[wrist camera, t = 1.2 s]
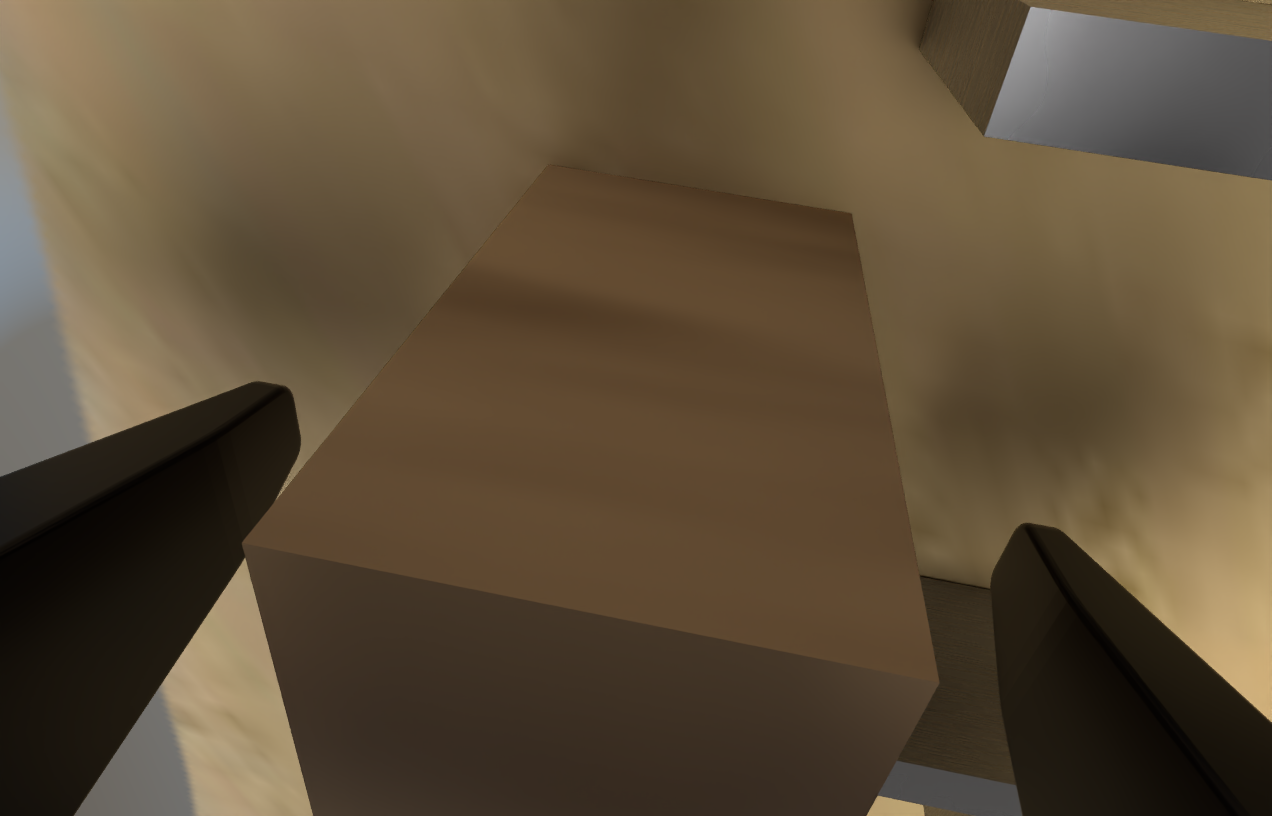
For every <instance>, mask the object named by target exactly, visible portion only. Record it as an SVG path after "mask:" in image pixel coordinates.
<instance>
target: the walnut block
mask: <svg viewBox="0 0 1272 816" xmlns="http://www.w3.org/2000/svg"><path fill="white" fill-rule="evenodd" d="M242 546H243V550H244V554H245V558H246V562H247V565H248V569H249V573H250V577H251V581H252V584H253V588H254V592H255V596H256V600H257V603H258V607H259V611H260V615H261V619H262V622H263V626H264V630H265V634H266V638H267V641H268V645H269V649H270V653H271V657H272V660H273V664H274V668H275V672H276V676H277V679H278V683H279V687H280V691H281V695H282V698H283V702H284V706H285V710H286V714H287V717H288V721H289V725H290V729H291V733H292V737H293V740H294V744H295V748H296V752H297V756H298V759H299V763H300V767H301V771H302V775H303V778H304V782H305V786H306V790H307V794H308V797H309V801H310V805H311V809H312V813H313V816H866V815H867V814H868V812H869V810H870V808H871V806H872V805H873V803H874V801H875V799H876V797H877V796H878V794H879V792H880V790H881V788H882V786H883V785H884V783H885V781H886V779H887V777H888V776H889V774H890V772H891V770H892V768H893V766H894V765H895V763H896V761H897V759H898V757H899V756H900V754H901V752H902V750H903V748H904V747H905V745H906V743H907V741H908V739H909V737H910V736H911V734H912V732H913V730H914V728H915V727H916V725H917V723H918V721H919V719H920V717H921V716H922V714H923V712H924V710H925V708H926V707H927V705H928V703H929V701H930V699H931V698H932V696H933V694H934V692H935V690H936V688H937V687H938V685H939V683H940V682H939V677H938V672H937V666H936V661H935V656H934V650H933V645H932V640H931V634H930V629H929V624H928V618H927V613H926V608H925V602H924V597H923V592H922V586H921V581H920V576H919V570H918V565H917V560H916V554H915V549H914V544H913V538H912V533H911V528H910V523H909V517H908V512H907V507H906V501H905V496H904V491H903V485H902V480H901V475H900V469H899V464H898V459H897V453H896V448H895V443H894V437H893V432H892V427H891V421H890V416H889V411H888V405H887V400H886V395H885V389H884V384H883V379H882V373H881V368H880V363H879V357H878V352H877V347H876V341H875V336H874V331H873V325H872V320H871V315H870V309H869V304H868V299H867V293H866V288H865V283H864V277H863V272H862V267H861V261H860V256H859V251H858V245H857V240H856V235H855V229H854V224H853V219H852V214H851V213H845V212H839V211H833V210H827V209H820V208H814V207H808V206H802V205H796V204H789V203H783V202H777V201H771V200H765V199H758V198H752V197H746V196H740V195H734V194H728V193H721V192H715V191H709V190H703V189H697V188H690V187H684V186H678V185H672V184H666V183H659V182H653V181H647V180H641V179H635V178H628V177H622V176H616V175H610V174H604V173H597V172H591V171H585V170H579V169H572V168H566V167H560V166H554V165H548V166H547V167H546V168H545V169H544V170H543V172H542V173H541V174H540V175H539V177H538V178H537V179H536V180H535V182H534V183H533V184H532V185H531V187H530V188H529V189H528V190H527V191H526V193H525V194H524V195H523V196H522V198H521V199H520V200H519V201H518V203H517V204H516V205H515V206H514V208H513V209H512V210H511V211H510V212H509V214H508V215H507V216H506V217H505V219H504V220H503V221H502V222H501V224H500V225H499V226H498V227H497V228H496V230H495V231H494V232H493V233H492V235H491V236H490V237H489V238H488V240H487V241H486V242H485V243H484V245H483V246H482V247H481V248H480V249H479V251H478V252H477V253H476V254H475V256H474V257H473V258H472V259H471V261H470V262H469V263H468V264H467V265H466V267H465V268H464V269H463V270H462V272H461V273H460V274H459V275H458V277H457V278H456V279H455V280H454V282H453V283H452V284H451V285H450V286H449V288H448V289H447V290H446V291H445V293H444V294H443V295H442V296H441V298H440V299H439V300H438V301H437V303H436V304H435V305H434V306H433V307H432V309H431V310H430V311H429V312H428V314H427V315H426V316H425V317H424V319H423V320H422V321H421V322H420V323H419V325H418V326H417V327H416V328H415V330H414V331H413V332H412V333H411V335H410V336H409V337H408V338H407V340H406V341H405V342H404V343H403V344H402V346H401V347H400V348H399V349H398V351H397V352H396V353H395V354H394V356H393V357H392V358H391V359H390V360H389V362H388V363H387V364H386V365H385V367H384V368H383V369H382V370H381V372H380V373H379V374H378V375H377V377H376V378H375V379H374V380H373V381H372V383H371V384H370V385H369V386H368V388H367V389H366V390H365V391H364V393H363V394H362V395H361V396H360V397H359V399H358V400H357V401H356V402H355V404H354V405H353V406H352V407H351V409H350V410H349V411H348V412H347V414H346V415H345V416H344V417H343V418H342V420H341V421H340V422H339V423H338V425H337V426H336V427H335V428H334V430H333V431H332V432H331V433H330V435H329V436H328V437H327V438H326V439H325V441H324V442H323V443H322V444H321V446H320V447H319V448H318V449H317V451H316V452H315V453H314V454H313V455H312V457H311V458H310V459H309V460H308V462H307V463H306V464H305V465H304V467H303V468H302V469H301V470H300V472H299V473H298V474H297V475H296V476H295V478H294V479H293V480H292V481H291V483H290V484H289V485H288V486H287V488H286V489H285V490H284V491H283V492H282V494H281V495H280V496H279V497H278V499H277V500H276V501H275V502H274V504H273V505H272V506H271V507H270V509H269V510H268V511H267V512H266V513H265V515H264V516H263V517H262V518H261V520H260V521H259V522H258V523H257V525H256V526H255V527H254V528H253V530H252V531H251V532H250V533H249V534H248V536H247V537H246V538H245V539H244V541H243V542H242Z"/></svg>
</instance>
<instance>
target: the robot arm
mask: <svg viewBox="0 0 1272 816" xmlns="http://www.w3.org/2000/svg"><path fill="white" fill-rule="evenodd" d="M300 446H301V435H300V430H299V424H298V419H297V413H296V408H295V402H294V397H293V394H292V392H291V391H290V389H289V388H287V387H286V386H283V385H277V384H272V383H266V382H260V381H256V382H252V383H249V384H246V385H243V386H241V387H238V388H236V389H233V390H230V391H228V392H225V393H222V394H220V395H217V396H214V397H212V398H209V399H206V400H204V401H201V402H198V403H196V404H193V405H190V406H188V407H185V408H182V409H180V410H177V411H174V412H172V413H169V414H166V415H164V416H161V417H158V418H156V419H153V420H150V421H148V422H145V423H142V424H140V425H137V426H134V427H132V428H129V429H126V430H124V431H121V432H118V433H116V434H113V435H110V436H108V437H105V438H102V439H100V440H97V441H94V442H92V443H89V444H86V445H84V446H81V447H79V448H76V449H73V450H70V451H68V452H65V453H63V454H60V455H57V456H54V457H52V458H49V459H46V460H44V461H41V462H38V463H36V464H33V465H31V466H28V467H25V468H23V469H20V470H17V471H14V472H12V473H9V474H7V475H4V476H1V477H0V816H74V815H75V813H76V812H77V810H78V809H79V807H80V806H81V804H82V802H83V801H84V800H85V798H86V797H87V795H88V794H89V792H90V791H91V789H92V788H93V786H94V785H95V783H96V782H97V780H98V778H99V777H100V775H101V774H102V773H103V771H104V770H105V768H106V766H107V765H108V764H109V762H110V760H111V759H112V758H113V756H114V754H115V753H116V752H117V750H118V749H119V747H120V745H121V744H122V742H123V741H124V739H125V738H126V736H127V735H128V733H129V732H130V730H131V729H132V727H133V726H134V724H135V723H136V721H137V720H138V718H139V717H140V715H141V714H142V712H143V711H144V709H145V708H146V706H147V705H148V703H149V702H150V700H151V699H152V697H153V696H154V694H155V693H156V691H157V690H158V688H159V687H160V685H161V684H162V682H163V681H164V679H165V678H166V676H167V675H168V673H169V672H170V670H171V669H172V667H173V666H174V664H175V663H176V661H177V660H178V658H179V657H180V655H181V654H182V652H183V651H184V649H185V648H186V646H187V645H188V643H189V642H190V640H191V639H192V637H193V636H194V634H195V633H196V631H197V630H198V628H199V627H200V625H201V624H202V622H203V621H204V619H205V618H206V616H207V615H208V613H209V612H210V610H211V609H212V607H213V606H214V604H215V603H216V601H217V600H218V598H219V597H220V595H221V594H222V592H223V591H224V589H225V588H226V586H227V585H228V583H229V582H230V580H231V579H232V577H233V576H234V574H235V573H236V571H237V570H238V568H239V566H240V565H241V563H242V562H243V560H244V558H245V554H244V550H243V546H242V542H243V541H244V539H245V538H246V537H247V536H248V534H249V533H250V532H251V531H252V530H253V528H254V527H255V526H256V525H257V523H258V522H259V521H260V520H261V518H262V517H263V516H264V515H265V513H266V512H267V511H268V510H269V509H270V507H271V506H272V505H273V504H274V502H275V500H276V498H277V496H278V494H279V492H280V490H281V489H282V487H283V485H284V483H285V481H286V479H287V477H288V475H289V473H290V471H291V469H292V467H293V465H294V463H295V461H296V459H297V457H298V454H299V451H300ZM990 588H991V602H992V615H993V627H994V639H995V652H996V664H997V676H998V688H999V697H1000V706H1001V711H1002V717H1003V723H1004V728H1005V733H1006V738H1007V743H1008V748H1009V753H1010V758H1011V763H1012V768H1013V772H1014V777H1015V782H1016V787H1017V792H1018V797H1019V802H1020V807H1021V812H1022V816H1272V722H1271V721H1270V720H1269V719H1267V718H1266V717H1265V716H1264V715H1263V714H1262V713H1261V712H1260V711H1259V710H1258V709H1256V708H1255V707H1254V706H1253V705H1252V704H1251V703H1250V702H1249V701H1248V700H1247V699H1246V698H1244V697H1243V696H1242V695H1241V694H1240V693H1239V692H1238V691H1237V690H1236V689H1235V688H1233V687H1232V686H1231V685H1230V684H1229V683H1228V682H1227V681H1226V680H1225V679H1224V678H1223V677H1221V676H1220V675H1219V674H1218V673H1217V672H1216V671H1215V670H1214V669H1213V668H1212V667H1210V666H1209V665H1208V664H1207V663H1206V662H1205V661H1204V660H1203V659H1202V658H1201V657H1200V656H1198V655H1197V654H1196V653H1195V652H1194V651H1193V650H1192V649H1191V648H1190V647H1189V646H1187V645H1186V644H1185V643H1184V642H1183V641H1182V640H1181V639H1180V638H1179V637H1178V636H1176V635H1175V634H1174V633H1173V632H1172V631H1171V630H1170V629H1169V628H1168V627H1167V626H1166V625H1164V624H1163V623H1162V622H1161V621H1160V620H1159V619H1158V618H1157V617H1156V616H1155V615H1153V614H1152V613H1151V612H1150V611H1149V610H1148V609H1147V608H1146V607H1145V606H1144V605H1143V604H1141V603H1140V602H1139V601H1138V600H1137V599H1136V598H1135V597H1134V596H1133V595H1132V594H1130V593H1129V592H1128V591H1127V590H1126V589H1125V588H1124V587H1123V586H1122V585H1121V584H1120V583H1118V582H1117V581H1116V580H1115V579H1114V578H1113V577H1112V576H1111V575H1110V574H1109V573H1107V572H1106V571H1105V570H1104V569H1103V568H1102V567H1101V566H1100V565H1099V564H1098V563H1097V562H1095V561H1094V560H1093V559H1092V558H1091V557H1090V556H1089V555H1088V554H1087V553H1086V552H1084V551H1083V550H1082V549H1081V548H1080V547H1079V546H1078V545H1077V544H1076V543H1075V542H1073V541H1072V540H1071V539H1070V538H1069V537H1068V536H1067V535H1066V534H1065V533H1064V532H1062V531H1061V530H1059V529H1057V528H1054V527H1049V526H1044V525H1038V524H1033V523H1023V524H1021V525H1019V526H1018V527H1017V528H1016V530H1015V531H1014V533H1013V535H1012V537H1011V538H1010V540H1009V542H1008V544H1007V546H1006V548H1005V550H1004V551H1003V553H1002V555H1001V557H1000V559H999V561H998V562H997V564H996V566H995V568H994V571H993V574H992V578H991V586H990Z"/></svg>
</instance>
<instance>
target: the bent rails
mask: <svg viewBox="0 0 1272 816" xmlns="http://www.w3.org/2000/svg"><path fill="white" fill-rule="evenodd" d="M919 50H920V52H921V53H922V54H923V56H924V57H925V58H926V60H927V61H928V62H929V64H930V65H931V66H932V68H933V69H934V70H935V72H936V73H937V74H938V76H939V77H940V78H941V80H942V81H943V82H944V84H945V85H946V86H947V88H948V89H949V90H950V92H951V93H952V94H953V96H954V97H955V98H956V100H957V101H958V102H959V104H960V105H961V106H962V108H963V109H964V110H965V112H966V113H967V114H968V116H969V117H970V118H971V120H972V121H973V122H974V124H975V125H976V126H977V128H978V129H979V131H980V132H981V133H982V135H983V136H985V137H991V138H998V139H1004V140H1011V141H1017V142H1024V143H1030V144H1037V145H1044V146H1050V147H1057V148H1063V149H1070V150H1076V151H1083V152H1089V153H1096V154H1103V155H1109V156H1116V157H1122V158H1129V159H1135V160H1142V161H1148V162H1155V163H1161V164H1168V165H1175V166H1181V167H1188V168H1194V169H1201V170H1207V171H1214V172H1220V173H1227V174H1233V175H1240V176H1247V177H1253V178H1260V179H1266V180H1272V5H1270V4H1263V3H1256V2H1249V1H1241V0H933V3H932V6H931V10H930V13H929V16H928V20H927V23H926V27H925V30H924V33H923V37H922V40H921V43H920V47H919ZM920 581H921V586H922V592H923V597H924V602H925V608H926V613H927V618H928V624H929V629H930V634H931V640H932V645H933V650H934V656H935V661H936V666H937V672H938V677H939V682H940V683H939V685H938V687H937V688H936V690H935V692H934V694H933V696H932V698H931V699H930V701H929V703H928V705H927V707H926V708H925V710H924V712H923V714H922V716H921V717H920V719H919V721H918V723H917V725H916V727H915V728H914V730H913V732H912V734H911V736H910V737H909V739H908V741H907V743H906V745H905V747H904V748H903V750H902V752H901V754H900V756H899V757H898V759H897V761H896V763H895V765H894V766H893V768H892V770H891V772H890V774H889V776H888V777H887V779H886V781H885V783H884V785H883V786H882V788H881V790H880V792H879V794H878V796H883V797H888V798H893V799H897V800H902V801H907V802H912V803H916V804H921V805H923V806H924V813H925V816H1022V812H1021V807H1020V802H1019V797H1018V792H1017V787H1016V782H1015V777H1014V772H1013V768H1012V763H1011V758H1010V753H1009V748H1008V743H1007V738H1006V733H1005V728H1004V723H1003V717H1002V711H1001V706H1000V697H999V688H998V676H997V664H996V652H995V639H994V627H993V615H992V602H991V590H988V589H983V588H977V587H972V586H967V585H962V584H956V583H951V582H946V581H941V580H935V579H930V578H925V577H920Z"/></svg>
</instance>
